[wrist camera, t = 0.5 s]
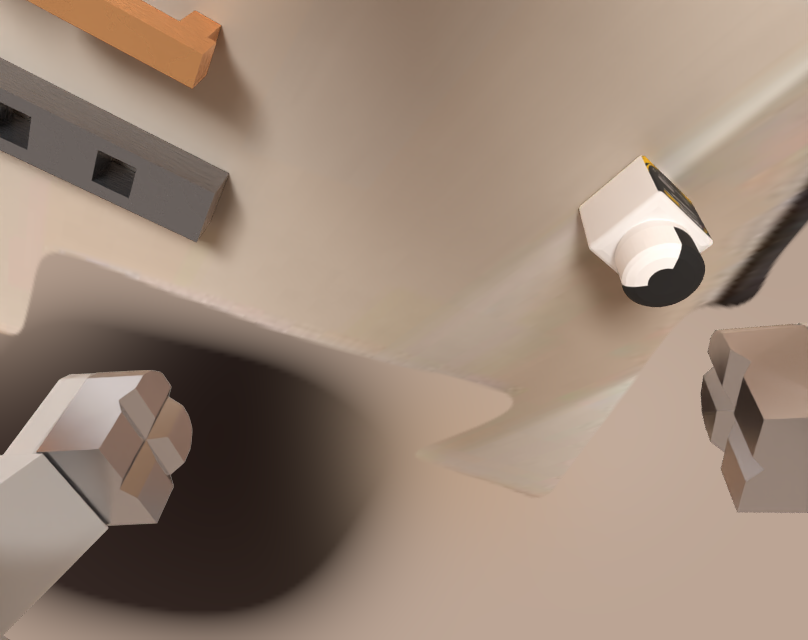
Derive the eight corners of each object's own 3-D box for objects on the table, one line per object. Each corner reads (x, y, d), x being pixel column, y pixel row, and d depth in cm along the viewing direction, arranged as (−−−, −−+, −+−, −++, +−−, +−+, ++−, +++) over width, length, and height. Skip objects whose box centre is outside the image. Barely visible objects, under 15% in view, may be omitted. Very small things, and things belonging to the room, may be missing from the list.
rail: (-66, 87, 54) (-99, 103, 51) (-66, 24, 50) (-101, 38, 47) (210, 220, 60) (196, 242, 57) (228, 173, 57) (214, 193, 54)
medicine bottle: (692, 201, 54) (735, 280, 45) (626, 250, 58) (654, 332, 49) (641, 152, 52) (677, 224, 43) (576, 207, 56) (596, 284, 46)
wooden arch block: (64, -29, 47) (11, -9, 41) (69, -66, 45) (14, -50, 40) (222, 59, 50) (192, 88, 45) (233, 28, 48) (202, 54, 43)
